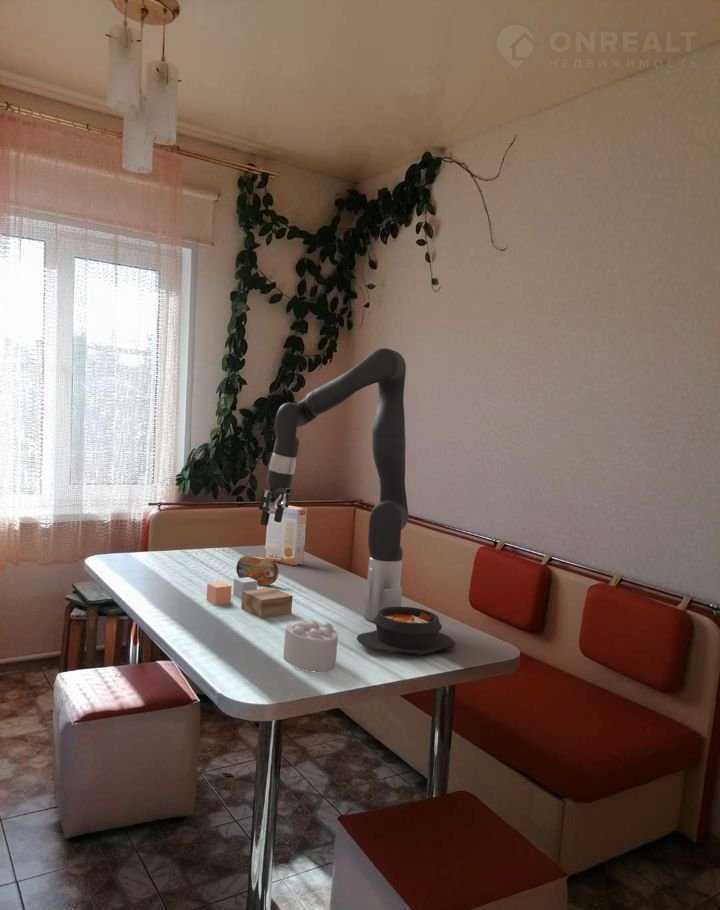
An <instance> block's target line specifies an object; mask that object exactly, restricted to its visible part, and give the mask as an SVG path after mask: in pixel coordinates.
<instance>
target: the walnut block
mask: <svg viewBox="0 0 720 910" xmlns="http://www.w3.org/2000/svg"><path fill="white" fill-rule="evenodd" d="M293 597H294V596H293V595H291V594H289V593H286V592H284V591H282V590H280V589H276V588H275V587H264V588H257V589H256V590H247V591H242V599H241V607H240V608H241V610H242V611H244V612H246V613H249V614H251V615H254V616H255V617H258V618H259V619H265V618H266V619H268V618H272V617H278V616H285V615H291V614H292V608H293Z"/></svg>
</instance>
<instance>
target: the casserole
mask: <svg viewBox="0 0 720 910" xmlns="http://www.w3.org/2000/svg"><path fill="white" fill-rule="evenodd" d="M374 624H375V627H376V628H375V630H372V631H367V632H362V633H359V634H358V635H357V636H356V640H357V641H358V643H359V644H361V645H362V646H364V647H366V648H368V649H371V650H373V651H378V652H379V651H380V652H392V653H396V654H401V655H406V654H407V656H413V655H414V656H417V654H418V655H424V654H423V653H425V654H431V653H435V652H438V651H441V650H442V649H448V648H453V647H454V646H455V645H456V642H455V640H454V639H453V638H451V637H450V636H449V635H447V634H445V633H442V632H440V631H441V630H442V629H443V626H442V624H441V622H440V618H439V617H438V615H437V614H436V613H433V612H431V611H429V610H425V609H422V608H416V607H409V606H401V607H388V608H383V609H381V610H380V611H379V612H378V614H377V616H376V617H375V618H374Z"/></svg>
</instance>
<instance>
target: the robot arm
mask: <svg viewBox="0 0 720 910" xmlns="http://www.w3.org/2000/svg"><path fill="white" fill-rule="evenodd" d="M406 368H407V364H406V361H405V358H404V357H403V355H402V354H401V353H400V352H398V351H396V350H393V349H390V348H387V347H384V348H383V347H382V348H378V349H377V350H374V351H373V352H372V353H370V354H369V355H368V356H366V357H365V358H364V359H362V360H361V362H358V364H356V365H355V366H353V367H352V368H351V369H349V370H348V371H346V372H344V373H343V374H341V375H340V376H338V377H336V378H334V379H332V380H330V381H329V382H326V383H324V384H323V385H321V386H319V387H318V388H315V389H313V390H311V391H310V392H309V393H307V394H306V396H305V398H303V399H302V400H300V401H298V402H296V403H295V402H285V403H283V404H282V405H280V407H279V408H278V410H277V412H276V416H275V441H274V445H273V451H272V455H271V458H270V460H269V466H268V469H267V470H268V471H267V476H266V484H267V485H269V488H268V490H266V489H263V490H262V493H261V497H260V501H259V506H258V510H259V511H261V517H260V521H259V522H260V525H261V526H264V527H265V526H266V527H267V525H268V521H269V517H270V512H271V510H272V508H274V507H275V506H276V507H277V508H278V509H276V512H275V517H274V521H276V522H281V521H282V516H283V510H285V508H288V506H290V500H291V495H292V488H291V487H292V485H293V480H294V476H295V472H296V471H295V470H296V465H297V457H298V453H299V447H300V440H299V438H298V437H297V429H298V428H300V427H303V426H305V425H307V424H309V423H310V422H312V421H313V420H315V419H316V418H317V417H318V416H320V415H321V414H324V413H326V412H329V411H330V410H332V409H334V408H336V407H338V406H339V405H341V404H342V403H344V402H345V401H346V400H348V399H349V398H350V397H351V396H352V395H353V394H355V393H357V392H358V391H359V390H362V389H364V388H365V387H369V386H371V385H374V384H377V390H378V402H377V403H378V404H377V408H376V412H375V415H374V420H373V424H372V425H373V426H372V432H371V433H372V437H371V439H372V442H371V443H372V456H373V461H374V465H375V468H376V471H377V474H378V479H379V484H380V485H379V487H380V488H379V490H380V491H379V503H377V504H376V505H375V506H373V508H372V509H371V511H370V514H369V519H368V533H367V535H368V538H367V539H368V540H367V544H368V545H367V547H368V551H369V554H368V555H369V557H368V567H367V569H368V570H367V580H366V593H365V603H364V604H365V606H364V616H363V617H364V619H366V621H370V622H372V623H373V622H374V618H375V617H376V616H377V614H378V612H379V611H380V610H381V609H383V608H388V607H402V597H403V588H402V587H401V578H402V576H401V575H402V566H403V565H402V563H403V556H404V555H403V551H404V550H403V548H402V547H401V535H402V530H403V529H404V528H405V527H406V526H407V523H408V521H409V510H408V508H409V507H408V499H407V491H406V425H405V423H406V421H405V419H406V418H405V407H404V406H405V404H404V401H405V400H404V397H405V396H404V395H405V394H404V393H405V383H406V373H407V372H406V371H407V369H406ZM269 506H270V507H269ZM268 508H269V509H268Z"/></svg>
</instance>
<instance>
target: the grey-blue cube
mask: <svg viewBox="0 0 720 910" xmlns="http://www.w3.org/2000/svg"><path fill="white" fill-rule="evenodd" d="M232 589H233V590H232V595H233V596H234V597H237V598H239V599H241V600H242V591H247V590H256V589H258V584H257V581H256V580H254V579H252V578H249V577H245V578H239V577H238V578H233V587H232Z"/></svg>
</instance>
